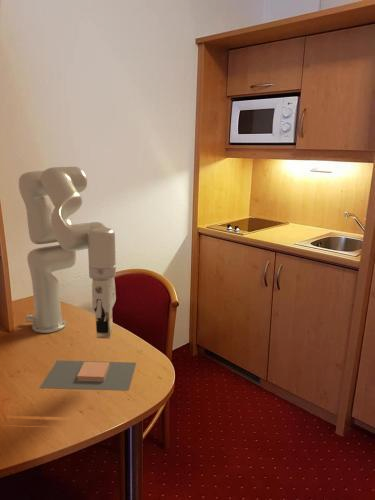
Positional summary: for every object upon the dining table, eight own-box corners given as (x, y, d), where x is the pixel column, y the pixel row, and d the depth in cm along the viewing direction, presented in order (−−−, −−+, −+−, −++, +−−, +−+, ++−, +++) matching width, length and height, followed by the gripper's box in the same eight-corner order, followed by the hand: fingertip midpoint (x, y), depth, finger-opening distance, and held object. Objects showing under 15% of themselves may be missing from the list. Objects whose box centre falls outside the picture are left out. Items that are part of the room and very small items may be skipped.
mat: (39, 389, 116) (39, 387, 116) (57, 362, 130) (57, 360, 130) (128, 392, 115) (128, 390, 115) (136, 364, 130) (136, 362, 130)
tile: (77, 376, 119) (103, 376, 119) (84, 361, 127) (109, 362, 126) (77, 380, 119) (103, 381, 119) (84, 366, 127) (109, 366, 127)
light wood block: (96, 338, 118) (95, 303, 115) (99, 331, 122) (98, 298, 119) (109, 338, 118) (108, 304, 115) (112, 332, 122) (111, 298, 119)
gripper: (109, 281, 106) (111, 343, 111) (121, 262, 122) (122, 317, 127) (81, 280, 106) (84, 342, 111) (96, 261, 122) (98, 316, 127)
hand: (104, 328), depth 119 cm, fingers closed on light wood block, 4 cm apart
